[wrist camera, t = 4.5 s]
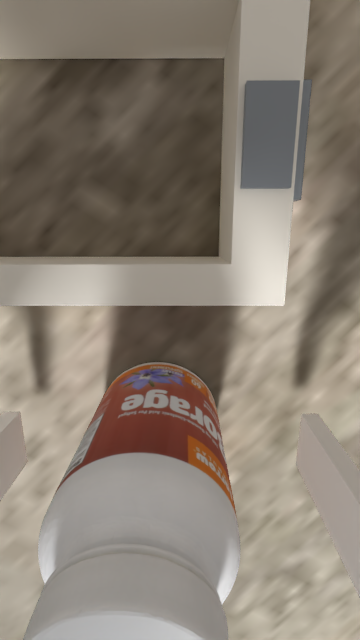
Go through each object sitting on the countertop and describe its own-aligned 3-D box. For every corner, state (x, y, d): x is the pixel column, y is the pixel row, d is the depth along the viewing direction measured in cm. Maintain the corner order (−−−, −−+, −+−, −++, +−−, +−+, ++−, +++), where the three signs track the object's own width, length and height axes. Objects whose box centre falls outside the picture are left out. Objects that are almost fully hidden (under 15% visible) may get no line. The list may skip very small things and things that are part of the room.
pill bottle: (237, 389, 17) (331, 651, 6) (183, 475, 18) (186, 807, 8) (131, 337, 16) (36, 536, 6) (84, 431, 18) (-63, 732, 7)
